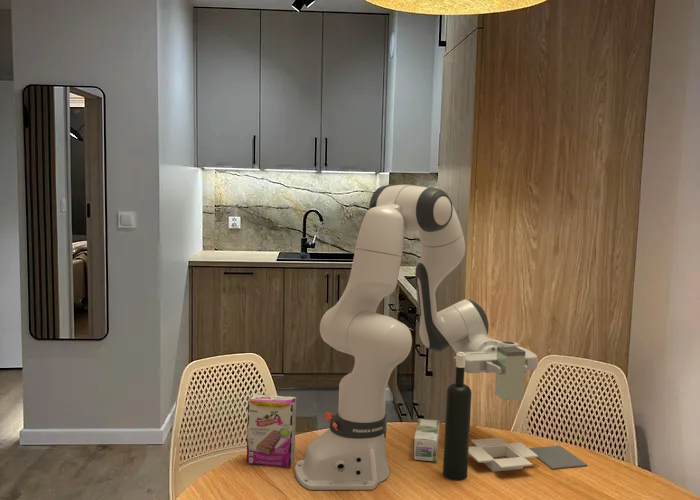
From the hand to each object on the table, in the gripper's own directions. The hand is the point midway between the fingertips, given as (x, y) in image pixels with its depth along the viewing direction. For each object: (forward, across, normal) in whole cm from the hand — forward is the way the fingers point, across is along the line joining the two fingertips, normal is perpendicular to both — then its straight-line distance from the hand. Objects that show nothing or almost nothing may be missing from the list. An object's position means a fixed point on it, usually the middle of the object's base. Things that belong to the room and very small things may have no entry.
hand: (513, 370), depth 158 cm
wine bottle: (+3, -16, +24) cm, 29 cm away
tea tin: (-1, 0, +7) cm, 7 cm away
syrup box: (-19, -14, +21) cm, 31 cm away
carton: (-1, -2, +24) cm, 24 cm away
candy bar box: (-12, -58, +24) cm, 64 cm away
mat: (-1, +14, +24) cm, 28 cm away
